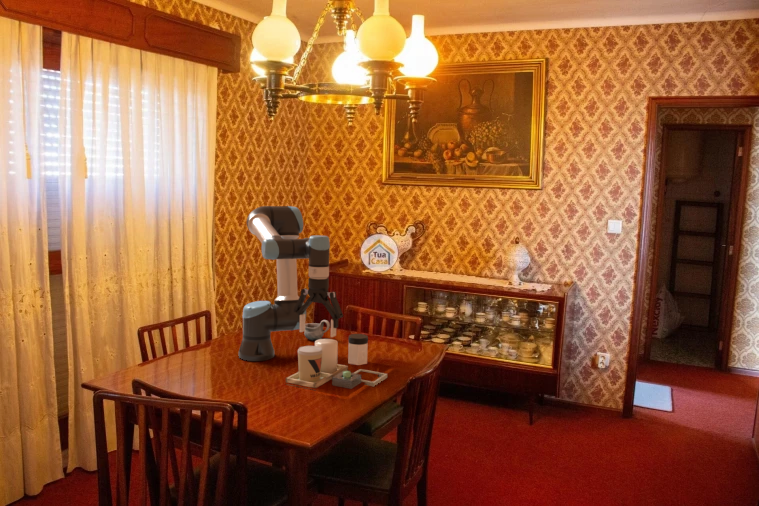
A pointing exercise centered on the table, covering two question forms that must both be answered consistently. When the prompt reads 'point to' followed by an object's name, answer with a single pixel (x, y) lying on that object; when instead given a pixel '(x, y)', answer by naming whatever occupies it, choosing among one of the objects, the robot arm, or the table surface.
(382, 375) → the beige square frame
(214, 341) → the table surface
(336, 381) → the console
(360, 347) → the jar
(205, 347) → the table surface
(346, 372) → the button
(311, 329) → the mug
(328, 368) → the billet
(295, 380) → the tray
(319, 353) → the coffee cup
